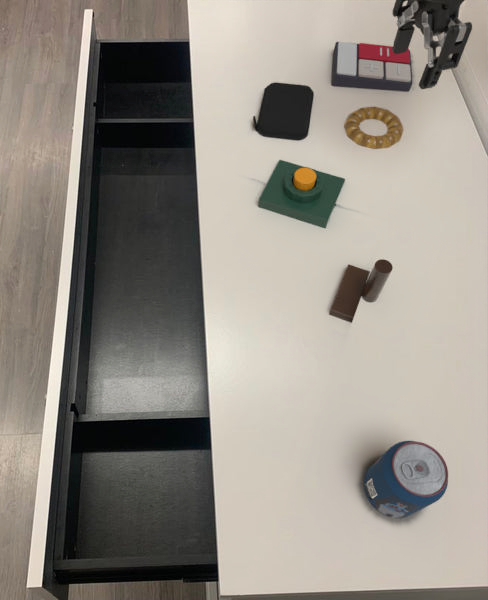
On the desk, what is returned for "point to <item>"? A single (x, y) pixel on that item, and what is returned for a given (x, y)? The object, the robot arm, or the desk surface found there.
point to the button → (304, 179)
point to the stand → (359, 288)
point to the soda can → (406, 479)
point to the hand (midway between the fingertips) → (412, 68)
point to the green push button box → (301, 195)
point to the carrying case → (285, 111)
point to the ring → (368, 140)
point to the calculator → (370, 67)
